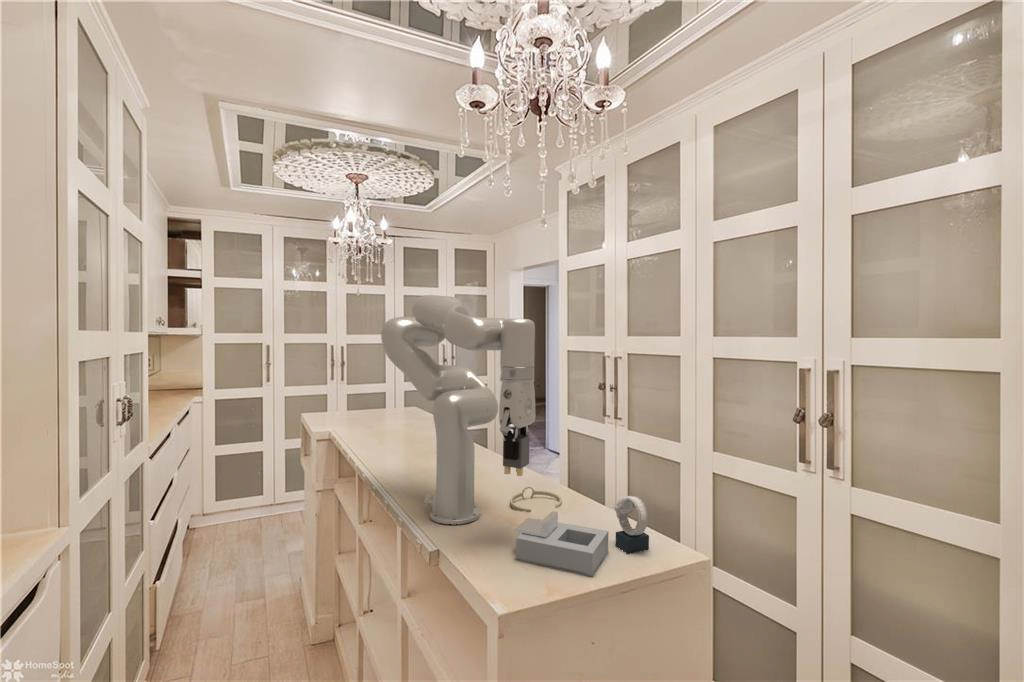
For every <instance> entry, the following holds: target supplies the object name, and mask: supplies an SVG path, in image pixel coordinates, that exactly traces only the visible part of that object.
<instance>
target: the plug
mask: <svg viewBox="0 0 1024 682" xmlns="http://www.w3.org/2000/svg"><path fill="white" fill-rule="evenodd" d="M530 437H531V435H520V429H518V434H517V441H519V445H518V459H517V460H511V459H505V458H504V440H503V439H502V440H503V441H502V467H503V468H504V471H503V472H504V475H510V474H511V468H512V469H513V468H514V469H515V472H516V476H517V477H522V476H523V475H524V468H525V467H527V466H528V465H530V439H531V438H530Z"/></svg>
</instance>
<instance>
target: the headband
mask: <svg viewBox="0 0 1024 682" xmlns="http://www.w3.org/2000/svg"><path fill="white" fill-rule="evenodd" d="M527 489H530V490H532V493H531V495H530V496H529V497H530V499H532V498H533V497H534V496H535V495H538V496H539V495H540V496H541V495H542V496H547V497H551V498H554V499H556V500H557V501H558V503H557V504H555V506H554V507H555V509H557V507H558V508H560V507H561V506H562V502H563V501H562V499H563V498H562V497H561V496H560V495H558V494H557V493H554V492H552V491H551V492H550V491H546V490H545V491H544V490H534V488H533V487H531V486H525V487H523V489H522V491H521V492H519V493H518V492H517V493H516V494H514V495H512V496H511V497H510V500H509V505H510V507H511V508H513V510H515V511H518V510H519V511H518V512H523V511H527V512H526V513H531V512H532V509H531V508H529V507H528V508H526V507H522V506H520V505H518V504H517V505H516V504H515V503H514V502H513V501H514V500H516V499H518V498H521V497H522V499H523V500H526V499H525V498H526V497H524V492H525V491H526V490H527ZM560 505H561V506H560Z"/></svg>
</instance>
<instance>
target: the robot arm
mask: <svg viewBox="0 0 1024 682" xmlns="http://www.w3.org/2000/svg"><path fill="white" fill-rule="evenodd" d="M411 312H412V316H398V317H393V318H391V319H389V320H386V322H385V323H384V324H383V326H382V328H381V331H380V332H381V333H380V338H381V343H382V347H383V350H384V352H385V354H386V356H387V357H388V359H389V361H390V362H392V365H394V366H396V368H398V370H400V372H402V373H403V374H404V375H405V377H406V378H407V379H408V381H409V382H410V383H411V385H413V387H414V388H415V389H416V390H417V392H418V393H419V394H420V395H421V397H423V398H424V399H425V400H427V401H428V402H432V417H433V423H434V429H435V436H436V438H435V440H436V444H435V445H436V474H435V475H436V478H435V479H436V480H435V482H436V486H435V487H436V489H435V491H436V494H431V493H427V494H426V496H425V499H424V504H425V505H428V506H430V505H431V507H432V509H430V512H429V518H430V520H432V521H433V522H435V523H438V524H441V523H442V525H449V524H451V525H452V526H453V525H456V524H457V525H464V524H468V523H472V522H474V521H477V520H478V519H479V518H480V517H481V509H480V508H479V507H478V506H476V505H475V460H476V459H475V452H476V451H475V443H474V442H475V441H474V440H473V437H472V436H471V434H470V432H469V430H468V428H471V427H477V426H482V425H487V424H489V423H491V422H493V421H494V419H496V418H497V415H499V416H498V420H499V421H498V422H499V425H500V426H499V430H500V432H501V434H502V436H503V437H502V438H503V439H502V440H504V458H505V459H511V460H517V459H518V445H519V441H517V434H518V429H520V435H529V434H530V433H529V430H530V429H529V428H530V425H532V424H534V423H535V421H536V413H537V412H536V392H535V384H534V382H535V354H536V352H535V350H536V349H535V344H536V343H535V340H536V327H535V326H536V324H535V322H534V321H533V320H531V319H528V318H501V317H483V316H482V317H477V316H476V317H475V316H470V313H469V310H468V309H467V308H466V306H465V305H464V304H463V302H462V301H461V300H460V299H459V298H457V297H454V296H449V295H447V296H446V295H435V294H434V295H433V294H428V295H423V296H420V297H418V298H417V299H415V301H414V302H413V304H412V308H411ZM444 340H446V341H447V342H449V344H452V345H455V346H456V347H459V348H461V349H464V350H466V351H471V352H472V351H473V352H477V351H479V352H480V351H500V363H499V364H500V365H499V367H500V370H499V371H500V376H499V381H500V382H501V386H500V392H499V393H500V394H499V395H500V396H499V402H498V401H497V397H496V396H495V394H494V392H493V391H492V389H490V388H489V387H488V386H487V385H486V384H485V382H483V381H482V379H480V378H479V376H478V375H477V374H476V373H475V372H474V371H473V370H471V369H470V368H468V367H467V366H465V365H460V364H451V365H450V364H448V365H447V364H446V365H443V364H439V363H438V362H437V361H436V360H434V359H433V358H432V356H431V355H430V354H429V353H427V351H425V350H424V349H421V348H423V347H425V348H426V347H435V346H437V345H439V344H441V343H442V342H443V341H444ZM498 403H499V404H498ZM511 425H512V426H511ZM529 436H530V435H529ZM451 525H450V526H451Z"/></svg>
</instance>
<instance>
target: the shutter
mask: <svg viewBox="0 0 1024 682" xmlns="http://www.w3.org/2000/svg"><path fill="white" fill-rule="evenodd" d="M558 515H559V512H558V511H555V510H552V511H550V513H548V514H547V515H546V517H544V518H543V520H538V519H539V518H538V519H537V518H532V517H527V518H526V519H524V520H523V521H522V522H521V523H520V524H518V525H516V527H514V532H516V533H520V534H521V533H525V534H530V535H535V536H540V537H547V536H548V535H549V534H550V533H551V532H552V531H553V530H554V529H555V528H556V527H557V526H558V522H559V521H558V519H559V517H558Z"/></svg>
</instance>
